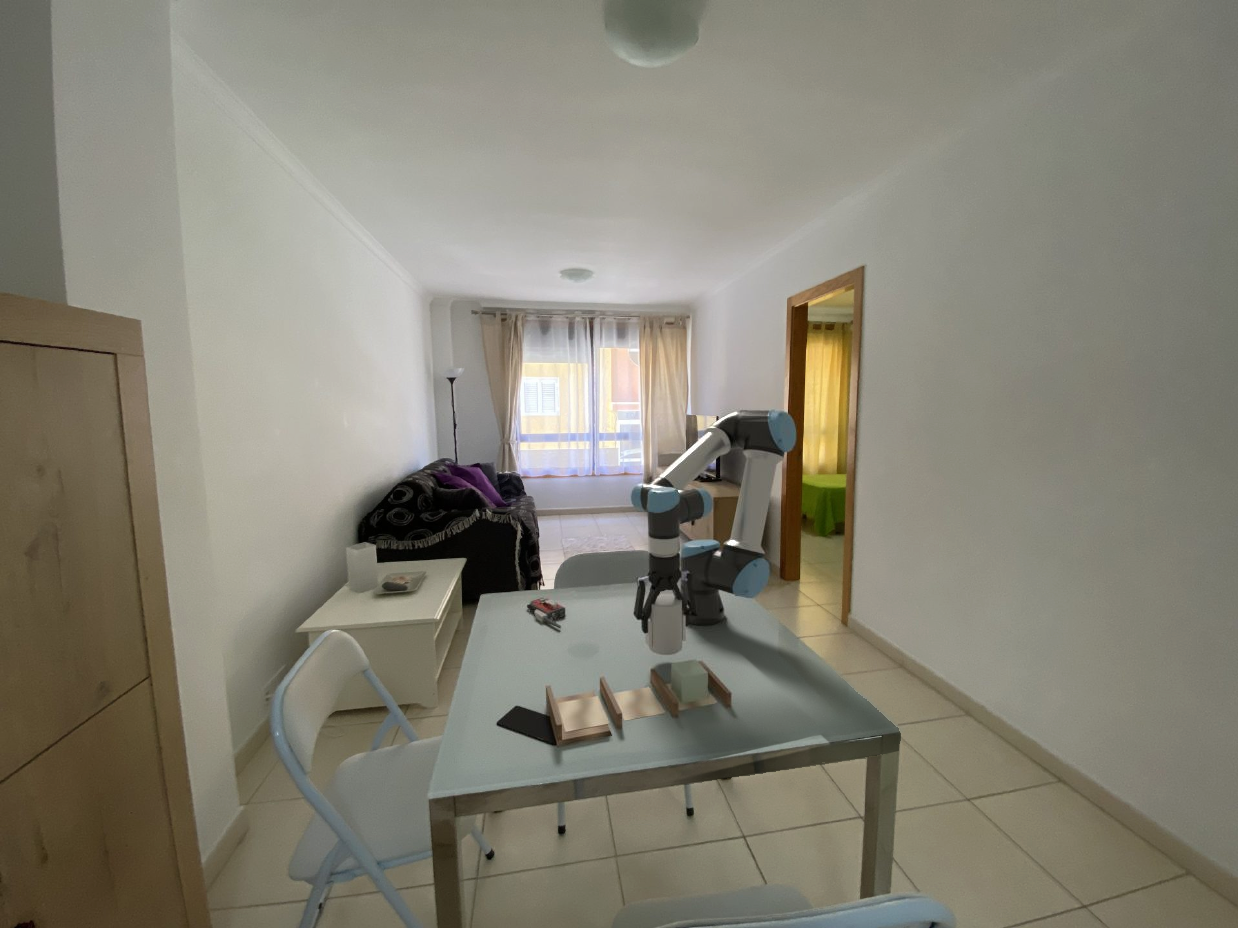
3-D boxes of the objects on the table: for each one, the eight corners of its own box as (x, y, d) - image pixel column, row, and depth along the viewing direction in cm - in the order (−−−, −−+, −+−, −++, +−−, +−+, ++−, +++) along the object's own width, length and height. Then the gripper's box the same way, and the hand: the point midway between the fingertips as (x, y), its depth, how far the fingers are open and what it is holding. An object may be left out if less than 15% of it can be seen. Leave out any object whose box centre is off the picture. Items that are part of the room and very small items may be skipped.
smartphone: (556, 744, 97) (494, 722, 104) (556, 748, 97) (495, 726, 104) (575, 723, 103) (516, 704, 110) (575, 727, 103) (516, 707, 110)
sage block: (695, 684, 116) (696, 659, 115) (707, 698, 110) (707, 672, 109) (671, 688, 114) (671, 663, 113) (681, 703, 108) (682, 676, 107)
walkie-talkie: (520, 611, 160) (557, 633, 145) (520, 598, 160) (556, 618, 145) (544, 604, 166) (581, 623, 151) (544, 591, 165) (581, 609, 151)
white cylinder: (685, 640, 128) (684, 595, 126) (678, 656, 120) (677, 608, 118) (654, 636, 130) (653, 592, 128) (645, 652, 123) (644, 604, 121)
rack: (701, 677, 120) (702, 660, 120) (731, 712, 107) (731, 692, 107) (546, 704, 110) (545, 685, 110) (557, 746, 97) (556, 725, 96)
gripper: (697, 543, 128) (697, 627, 131) (617, 552, 122) (620, 641, 126) (710, 551, 121) (711, 641, 124) (627, 562, 115) (629, 656, 118)
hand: (665, 641), depth 125 cm, fingers closed on white cylinder, 8 cm apart
